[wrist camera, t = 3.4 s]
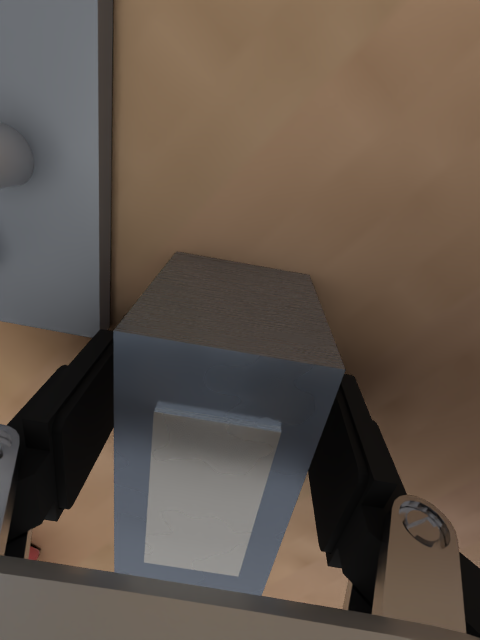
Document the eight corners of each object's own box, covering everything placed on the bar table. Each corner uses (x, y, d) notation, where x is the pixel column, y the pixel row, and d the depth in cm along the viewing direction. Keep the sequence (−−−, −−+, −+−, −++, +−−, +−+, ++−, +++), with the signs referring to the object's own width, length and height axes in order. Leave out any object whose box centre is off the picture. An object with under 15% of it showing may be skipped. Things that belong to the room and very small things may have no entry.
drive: (309, 273, 10) (347, 374, 6) (258, 457, 14) (258, 610, 9) (177, 250, 10) (109, 335, 6) (161, 442, 14) (112, 589, 9)
